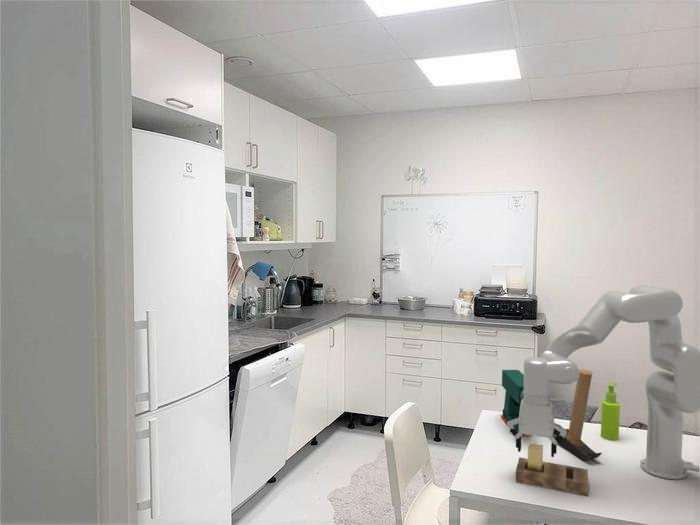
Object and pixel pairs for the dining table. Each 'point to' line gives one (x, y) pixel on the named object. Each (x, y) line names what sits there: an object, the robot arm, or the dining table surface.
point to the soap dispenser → (610, 415)
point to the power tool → (512, 395)
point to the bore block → (554, 477)
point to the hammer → (578, 420)
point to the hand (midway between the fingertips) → (535, 452)
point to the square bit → (535, 457)
